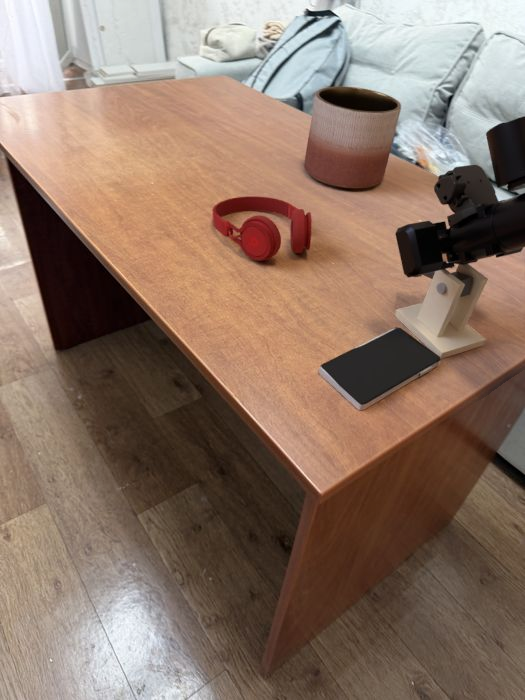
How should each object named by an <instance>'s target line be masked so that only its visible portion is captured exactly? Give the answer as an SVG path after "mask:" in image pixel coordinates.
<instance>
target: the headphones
mask: <svg viewBox="0 0 525 700" xmlns="http://www.w3.org/2000/svg"><path fill="white" fill-rule="evenodd" d="M243 211H244V212H245V211H246V212H247V211H258V212H259V211H261V212H268V213H274V214H278V215H281V216H284V217H285V218H287V219H289V220H290V233H289V235H290V236H289V237H290V249H291V251H292V253H294V254H302V253H303V252H304V249H305V251H310V248H311V241H312V215H311V214H312V213H311V212H310V211H307V213H305V210H304V209H303V208H298V207H296V206H294V205H292V204H291V203H290V202H287V201H285V200H282V199H278V198H274V197H267V196H259V195H258V196H257V195H256V196H253V195H252V196H251V195H250V196H248V195H247V196H237V197H233V198H227V199H225V200H221V201H219V202H218V203H216V204H215V205H214V206H213V207H212V225H213V228H214V229H215V230H217V232H219V233H220V234H221V235H222V236H223V237H225V238H227V237H228V238H230V239H231V240H232V241H233V242H234V243H235V244H236V245H238V246H239V247H240V249H241V250H242V252H243V253H244V254H245V255H246V256H247V257H248V258H249V259H251V260H254V261H268V260H270V259H272V258H273V257H275V256H276V255H277V254H278V252H279V250H280V248H281V245H282V237H281V233H280V230H279V228H278V226H277V224H276V223H275V222H274V221H273V220H271V219H270V218H269V217H267V216H265V215H259V214H257V215H253V216H251V217H249V218H247V219H246V220H244V221H243V223H242V225H241V226H240V227H239V228H238V227H237V226H235V225H234V224H233V223H232V222H230V221H229V220H225V219H224V218H223V217H224V216H225V215H229V214H232V213H237V212H243ZM234 232H236V233H237V235H234Z"/></svg>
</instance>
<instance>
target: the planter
mask: <svg viewBox="0 0 525 700" xmlns="http://www.w3.org/2000/svg"><path fill="white" fill-rule="evenodd" d="M401 110H402V104H401V102H400V101H399V100H398V99H396V98H395V97H393V96H391V95H388V94H386V93H383V92H381V91H376V90H372V89H368V88H362V87H354V86H344V85H343V86H341V85H340V86H338V85H337V86H327V87H322V88H320V89H318V90H316V92H315V94H314V99H313V107H312V114H311V120H310V124H309V130H308V131H309V132H308V137H307V142H306V143H307V144H306V149H305V155H304V165H303V166H304V169H305V171H306V172H307V174H308V175H309V176H310V177H312V178H313V179H314V180H316V181H317V182H319V183H321V184H324V185H327V186H330V187H334V188H339V189H346V190H362V189H369V188H372V187H374V186H377V185H378V184H380V183H381V182H382V181H383V180H384V177H385V173H386V170H387V166H388V162H389V158H390V154H391V150H392V146H393V141H394V138H395V134H396V130H397V126H398V122H399V117H400V114H401Z"/></svg>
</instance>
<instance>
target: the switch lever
mask: <svg viewBox="0 0 525 700" xmlns="http://www.w3.org/2000/svg"><path fill="white" fill-rule="evenodd" d="M450 273H451V274H452V275H454V276H455V277H456V278H458V279H459V280H460V281H461V282H463V283H464V284H465V286H464V288H463V291H462V293H461V295H460V297H463V296H467V295H470V292H471V287H472V281H473V278H472V277H470V276H467V275H465V274H462V273H460V272H456V271H453V272H450ZM434 274H435V272H431V273H427V274H423V275H418V276H414V277H413V278H419V277H422V276H423V277H426V278H428V279H431V280H432V279H433V276H434Z"/></svg>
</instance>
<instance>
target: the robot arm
mask: <svg viewBox="0 0 525 700" xmlns="http://www.w3.org/2000/svg"><path fill="white" fill-rule="evenodd" d="M485 137H486V142H487V146H488V151H489V155H490V160H491V166H492V171H493V176H494V180H495V185H496V187H497V188H498V189H500V188H503V187H505V186H506V188H507V192H514V191H519V190H523V189H525V115H524V116H520V117H517V118H514V119H512V120H510V121H505V122H500V123H498V124H497V125H494V126H493V127H491V128H489V130H487V132H486V133H485ZM433 191H434V194H435V195H436V198H437V199H438V201H439V203H440V204H441V205H444V206H445V205H446V206H447V205H448V207H449V209H450V210H451V212H452V214H449V215H447V216H446V218H447V223H448V224H446V221H439V222H432V221H431V220H425V221H419V222H413V223H408V224H405V225H402V226H400V227H398V228H397V230H396V231H395V239H396V243H397V248H398V252H399V256H400V261H401V267H402V272H403V274H404V276H406V277H407V278H408V279H409V278H415V277H414V276H418V275H421V276H424V275H423V274H427V273H431V272H435V271H439V270H442V269H446V270H448V269H451V268H455V267H456V265H459V264H461V265H464V264H469V265H470V264H473V263H476V262H478V261H479V260H483V259H487V258H491V257H495V258H502V257H506V256H510V255H514V254H518V253H521V252H522V251H523V249H524V248H525V192H522V193H520V194H517V195H515V196H512V197H510V198H507V199H502V200H499V199H498V196H497V194H496V189H495V188H494V186H493V184H492V182H491V180H490V178H489V177H488V175H487V173H486V172H485V170H484V169H483V167H482V166H480V165H478V164H468V165H459V166H455V167H454V168H453V169H451V170H447V171H446V172H445V173H444V174H439V176H438V177H437V182H436V183H435V184H434V186H433ZM447 225H448V226H449V228H447Z"/></svg>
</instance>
